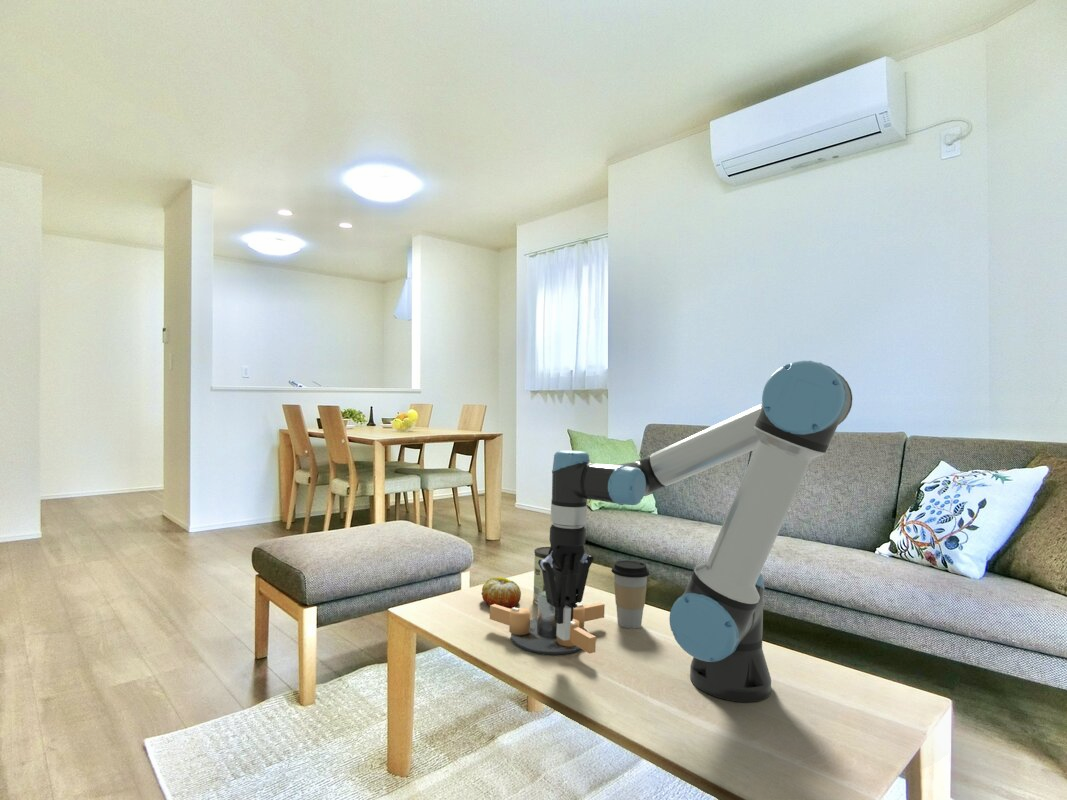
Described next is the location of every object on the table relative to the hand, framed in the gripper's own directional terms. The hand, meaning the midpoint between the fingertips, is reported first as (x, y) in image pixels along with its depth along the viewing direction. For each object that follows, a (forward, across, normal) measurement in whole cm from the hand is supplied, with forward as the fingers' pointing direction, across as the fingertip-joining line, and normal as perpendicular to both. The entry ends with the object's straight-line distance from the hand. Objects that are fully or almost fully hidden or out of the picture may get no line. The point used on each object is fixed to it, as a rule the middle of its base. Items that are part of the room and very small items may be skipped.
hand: (563, 637), depth 118 cm
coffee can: (+6, -20, -34) cm, 40 cm away
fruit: (+7, -7, -39) cm, 40 cm away
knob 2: (+4, -15, -12) cm, 20 cm away
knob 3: (+4, -5, -2) cm, 7 cm away
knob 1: (+4, +2, -19) cm, 19 cm away
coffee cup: (+6, -28, -10) cm, 30 cm away
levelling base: (+6, -5, -12) cm, 14 cm away
